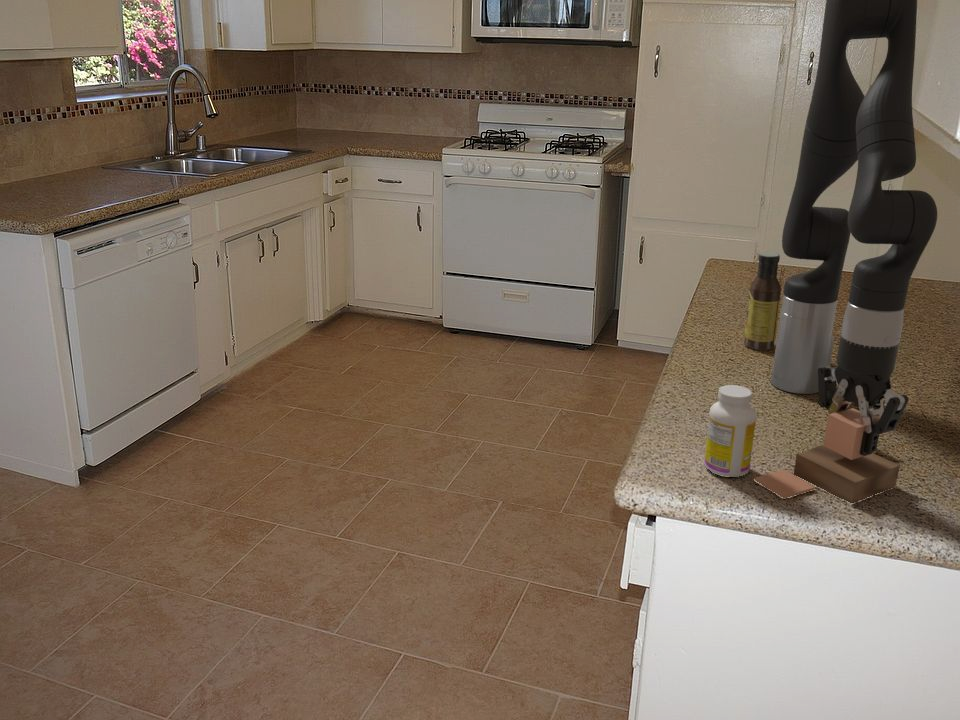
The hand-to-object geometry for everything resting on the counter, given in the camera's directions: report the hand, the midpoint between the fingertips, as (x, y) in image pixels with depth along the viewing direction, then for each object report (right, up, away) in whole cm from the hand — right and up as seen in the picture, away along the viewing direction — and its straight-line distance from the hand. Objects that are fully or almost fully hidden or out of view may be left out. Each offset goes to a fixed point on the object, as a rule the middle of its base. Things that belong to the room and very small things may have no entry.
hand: (850, 445), depth 126 cm
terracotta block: (0, 0, 0) cm, 0 cm away
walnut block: (0, -6, +2) cm, 6 cm away
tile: (-9, -6, +1) cm, 11 cm away
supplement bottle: (-16, -4, +5) cm, 18 cm away
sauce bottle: (+5, +15, +56) cm, 58 cm away
